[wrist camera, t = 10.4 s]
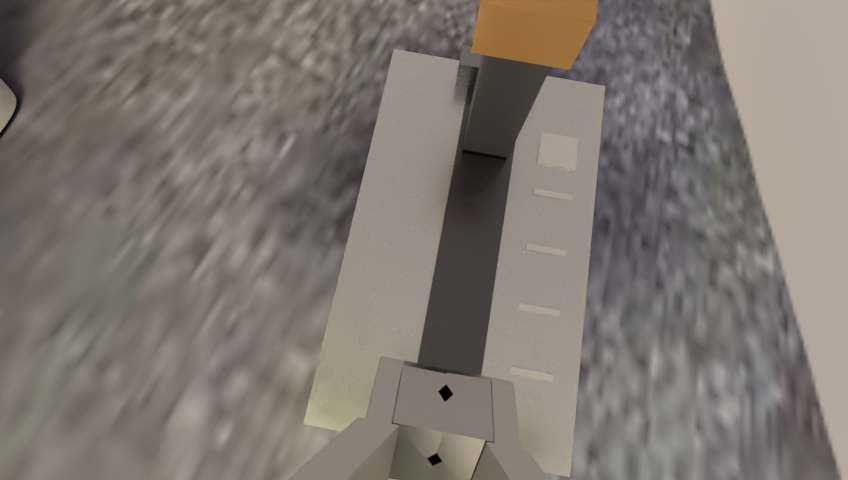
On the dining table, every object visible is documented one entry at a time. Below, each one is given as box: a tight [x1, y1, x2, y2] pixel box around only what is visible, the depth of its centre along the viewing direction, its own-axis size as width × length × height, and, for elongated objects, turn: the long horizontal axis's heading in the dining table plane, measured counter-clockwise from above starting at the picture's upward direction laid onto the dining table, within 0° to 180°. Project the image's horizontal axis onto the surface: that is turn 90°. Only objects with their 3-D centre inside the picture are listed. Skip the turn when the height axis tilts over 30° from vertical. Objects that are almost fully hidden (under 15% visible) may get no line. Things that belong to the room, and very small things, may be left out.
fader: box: [463, 0, 598, 157], centre depth 18 cm, size 3×3×10 cm
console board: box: [304, 45, 605, 477], centre depth 22 cm, size 20×12×4 cm, turn 169°
